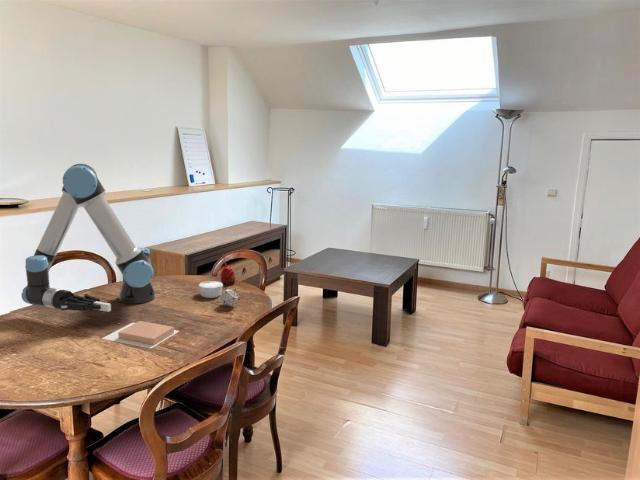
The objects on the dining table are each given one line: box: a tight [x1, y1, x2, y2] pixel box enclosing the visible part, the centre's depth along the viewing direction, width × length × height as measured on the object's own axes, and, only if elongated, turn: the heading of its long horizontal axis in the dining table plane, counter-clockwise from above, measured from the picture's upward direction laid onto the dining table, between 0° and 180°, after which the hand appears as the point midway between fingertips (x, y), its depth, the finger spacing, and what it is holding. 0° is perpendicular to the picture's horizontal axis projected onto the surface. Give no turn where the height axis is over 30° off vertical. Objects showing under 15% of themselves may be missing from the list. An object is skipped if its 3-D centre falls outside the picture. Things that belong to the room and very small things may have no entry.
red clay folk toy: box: [220, 254, 236, 286], centre depth 247 cm, size 8×7×15 cm
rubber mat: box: [101, 322, 180, 349], centre depth 181 cm, size 21×17×1 cm
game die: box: [217, 287, 241, 309], centre depth 216 cm, size 9×8×10 cm
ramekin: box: [198, 280, 224, 299], centre depth 230 cm, size 11×11×5 cm
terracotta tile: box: [118, 320, 175, 345], centre depth 180 cm, size 12×2×15 cm
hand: (109, 307), depth 184 cm, fingers closed
